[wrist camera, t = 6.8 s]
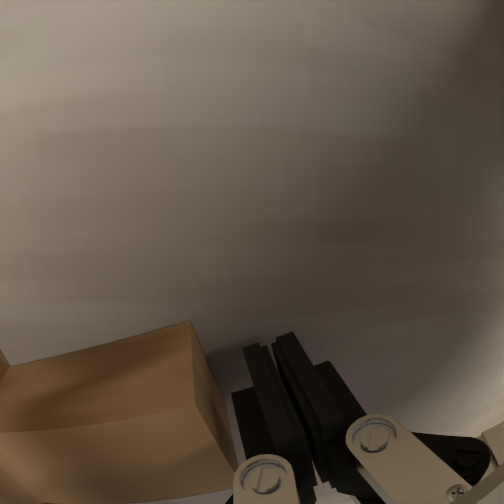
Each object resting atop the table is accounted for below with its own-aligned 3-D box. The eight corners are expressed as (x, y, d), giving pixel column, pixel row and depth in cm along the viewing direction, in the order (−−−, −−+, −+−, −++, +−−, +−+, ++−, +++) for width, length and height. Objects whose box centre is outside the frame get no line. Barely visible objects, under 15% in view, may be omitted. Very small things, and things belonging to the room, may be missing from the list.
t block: (148, 202, 9) (121, 234, 5) (250, 456, 13) (269, 524, 9) (-81, 299, 8) (-131, 341, 4) (48, 482, 12) (37, 535, 8)
